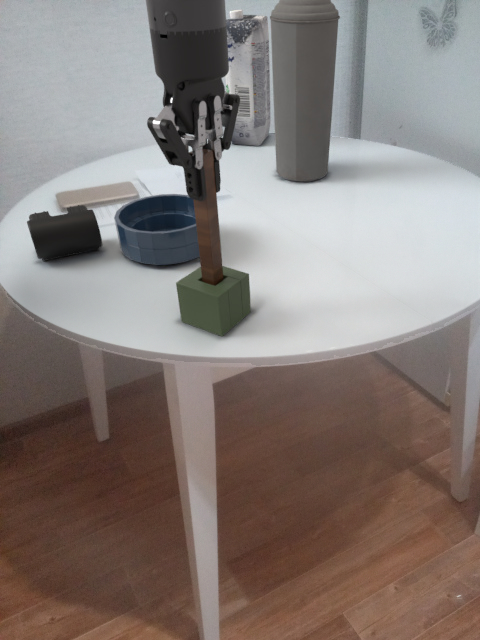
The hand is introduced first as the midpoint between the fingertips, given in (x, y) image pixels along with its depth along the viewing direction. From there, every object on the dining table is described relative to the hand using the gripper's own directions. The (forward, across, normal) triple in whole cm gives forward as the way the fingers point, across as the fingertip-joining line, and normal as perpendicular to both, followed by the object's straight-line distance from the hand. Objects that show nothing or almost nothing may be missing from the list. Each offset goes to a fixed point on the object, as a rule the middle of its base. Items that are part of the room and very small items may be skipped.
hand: (204, 194), depth 65 cm
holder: (+17, 0, 0) cm, 17 cm away
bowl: (+17, -13, -20) cm, 29 cm away
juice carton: (+17, -68, -40) cm, 81 cm away
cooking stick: (+17, 0, 0) cm, 17 cm away
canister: (+17, -54, -18) cm, 59 cm away
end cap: (+17, -3, -32) cm, 36 cm away
